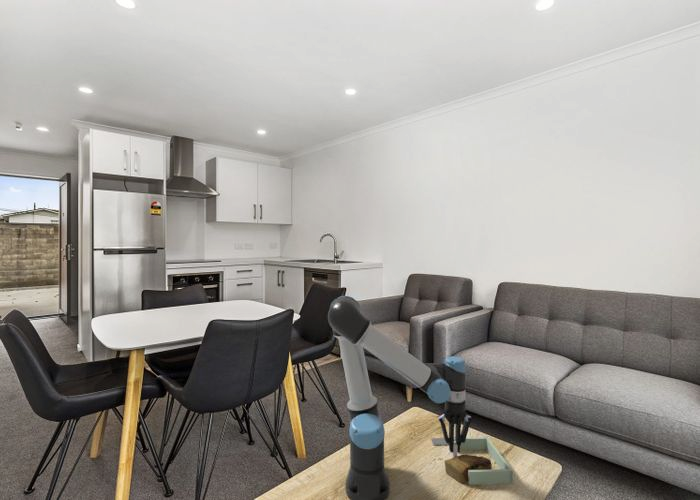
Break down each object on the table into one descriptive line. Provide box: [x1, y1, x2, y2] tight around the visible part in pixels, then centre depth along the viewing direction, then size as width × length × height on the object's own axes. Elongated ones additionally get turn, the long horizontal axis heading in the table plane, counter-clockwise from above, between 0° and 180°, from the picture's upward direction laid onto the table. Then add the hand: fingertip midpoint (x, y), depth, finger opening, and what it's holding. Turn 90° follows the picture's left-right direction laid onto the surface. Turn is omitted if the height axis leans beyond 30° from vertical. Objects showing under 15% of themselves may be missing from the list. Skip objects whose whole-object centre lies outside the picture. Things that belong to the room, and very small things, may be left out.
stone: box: [444, 454, 493, 484], centre depth 132 cm, size 15×9×5 cm, turn 108°
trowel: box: [430, 436, 455, 446], centre depth 152 cm, size 14×4×2 cm, turn 91°
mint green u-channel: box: [454, 436, 514, 486], centre depth 137 cm, size 16×22×4 cm
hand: (454, 459), depth 137 cm, fingers closed
